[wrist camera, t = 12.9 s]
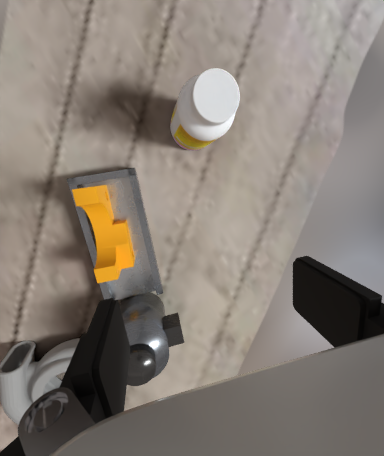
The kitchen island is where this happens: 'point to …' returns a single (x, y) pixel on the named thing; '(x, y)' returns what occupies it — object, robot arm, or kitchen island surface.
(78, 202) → the pipe clamp
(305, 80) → the kitchen island surface
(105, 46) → the kitchen island surface
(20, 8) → the kitchen island surface
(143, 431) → the robot arm
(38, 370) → the turbocharger housing
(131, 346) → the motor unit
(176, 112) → the supplement bottle
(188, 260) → the kitchen island surface
